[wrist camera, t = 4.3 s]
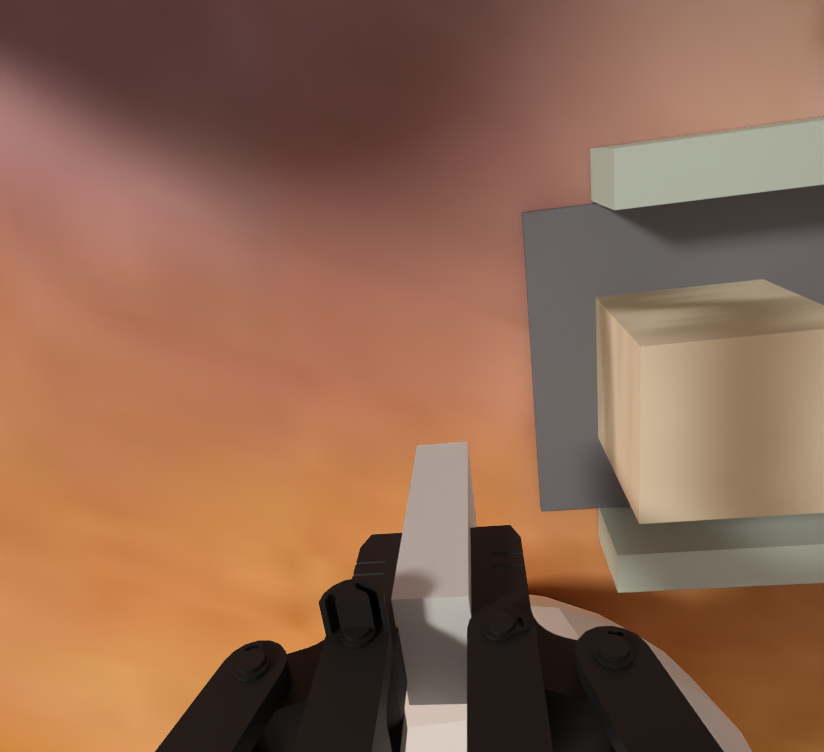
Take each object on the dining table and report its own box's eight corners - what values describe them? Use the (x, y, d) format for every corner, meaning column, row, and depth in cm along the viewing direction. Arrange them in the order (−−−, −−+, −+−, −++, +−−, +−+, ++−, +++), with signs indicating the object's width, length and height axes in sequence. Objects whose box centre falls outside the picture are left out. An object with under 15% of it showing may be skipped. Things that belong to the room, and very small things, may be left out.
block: (598, 438, 24) (639, 523, 19) (595, 297, 22) (640, 346, 17) (751, 426, 24) (841, 511, 18) (763, 279, 22) (868, 324, 16)
